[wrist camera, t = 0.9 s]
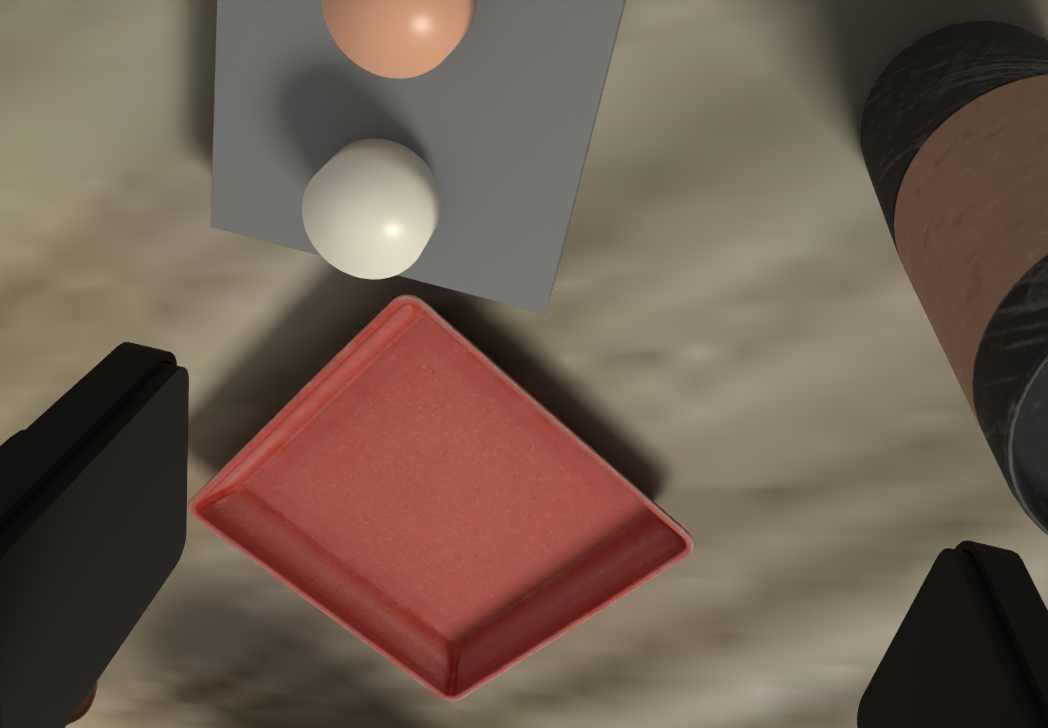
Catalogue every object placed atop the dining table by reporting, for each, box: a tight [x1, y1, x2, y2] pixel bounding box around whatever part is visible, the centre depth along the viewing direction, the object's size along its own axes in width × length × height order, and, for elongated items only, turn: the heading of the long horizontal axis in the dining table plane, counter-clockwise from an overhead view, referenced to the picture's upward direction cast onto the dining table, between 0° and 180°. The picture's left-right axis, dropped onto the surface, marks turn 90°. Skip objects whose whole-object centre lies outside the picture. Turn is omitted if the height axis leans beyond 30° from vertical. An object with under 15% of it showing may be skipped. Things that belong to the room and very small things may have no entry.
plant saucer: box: [188, 294, 694, 702], centre depth 46 cm, size 18×18×3 cm
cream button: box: [302, 138, 442, 279], centre depth 34 cm, size 5×5×2 cm
